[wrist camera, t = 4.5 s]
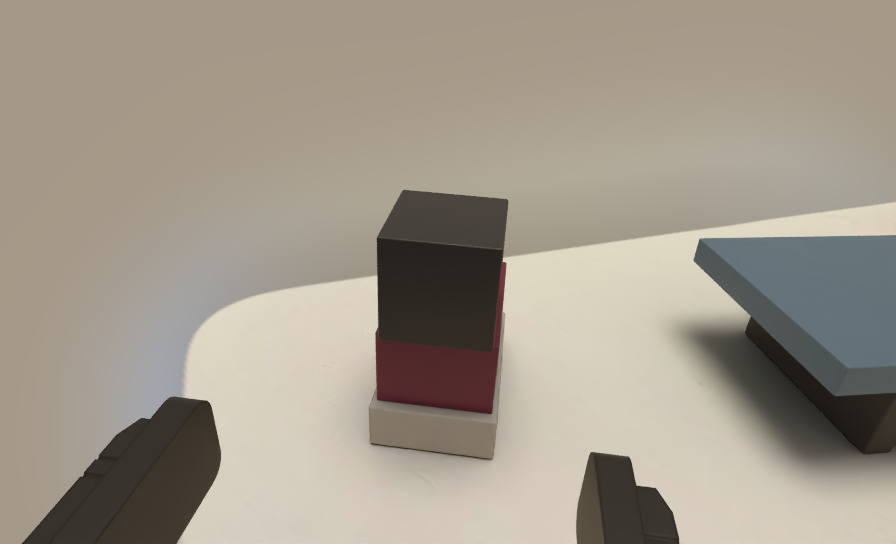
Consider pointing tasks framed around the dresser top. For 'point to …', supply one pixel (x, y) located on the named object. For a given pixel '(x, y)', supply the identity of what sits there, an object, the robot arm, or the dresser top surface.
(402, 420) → the stacked block tower
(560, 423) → the dresser top surface
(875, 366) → the ironing board
